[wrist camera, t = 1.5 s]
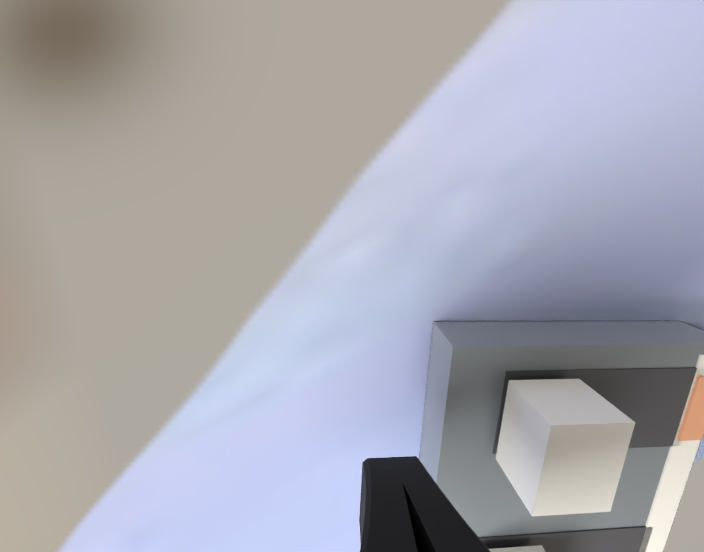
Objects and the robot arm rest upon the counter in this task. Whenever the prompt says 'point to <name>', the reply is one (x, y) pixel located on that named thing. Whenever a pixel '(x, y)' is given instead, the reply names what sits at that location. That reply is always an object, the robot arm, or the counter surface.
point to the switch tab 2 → (562, 446)
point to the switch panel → (603, 377)
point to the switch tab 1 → (520, 549)
